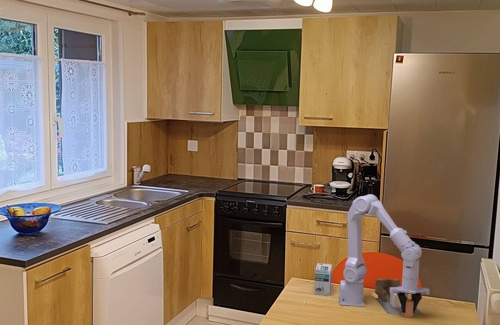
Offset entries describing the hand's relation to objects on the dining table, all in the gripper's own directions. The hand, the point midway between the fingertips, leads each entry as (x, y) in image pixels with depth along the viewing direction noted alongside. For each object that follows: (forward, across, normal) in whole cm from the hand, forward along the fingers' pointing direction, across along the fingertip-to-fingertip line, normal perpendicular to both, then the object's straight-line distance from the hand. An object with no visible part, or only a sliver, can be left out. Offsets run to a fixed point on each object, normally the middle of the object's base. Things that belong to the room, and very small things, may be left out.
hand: (408, 312), depth 203 cm
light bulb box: (+2, -27, +28) cm, 39 cm away
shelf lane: (+2, 0, +14) cm, 15 cm away
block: (+2, 0, +6) cm, 7 cm away
